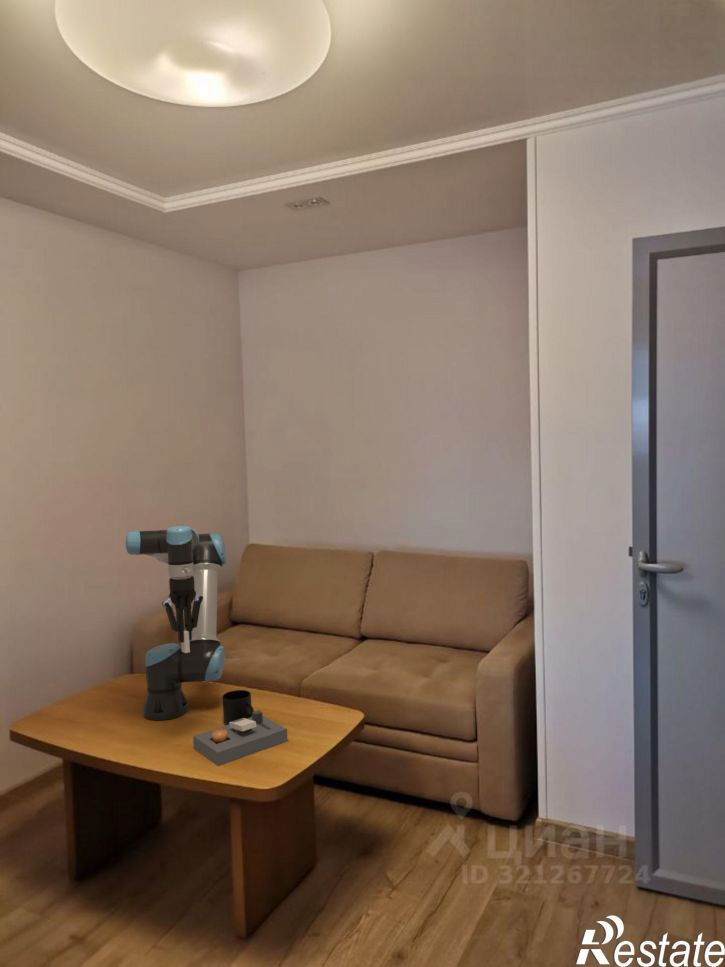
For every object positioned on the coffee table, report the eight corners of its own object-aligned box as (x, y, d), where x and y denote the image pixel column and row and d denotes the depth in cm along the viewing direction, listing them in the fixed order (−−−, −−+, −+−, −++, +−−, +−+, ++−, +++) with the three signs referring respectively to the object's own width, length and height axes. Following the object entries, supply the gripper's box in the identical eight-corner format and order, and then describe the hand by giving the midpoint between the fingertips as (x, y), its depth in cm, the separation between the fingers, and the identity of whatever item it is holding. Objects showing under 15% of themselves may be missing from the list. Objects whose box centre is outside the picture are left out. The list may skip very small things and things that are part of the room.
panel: (193, 748, 226) (192, 732, 225) (260, 726, 241) (260, 711, 240) (218, 765, 213) (217, 748, 213) (287, 741, 228) (286, 725, 228)
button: (210, 750, 223) (209, 731, 223) (223, 746, 226) (222, 727, 225) (217, 755, 220) (216, 736, 219) (230, 750, 222) (229, 732, 222)
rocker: (229, 727, 229) (229, 722, 229) (243, 723, 232) (243, 717, 232) (242, 731, 223) (241, 725, 223) (256, 726, 226) (255, 721, 226)
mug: (244, 730, 238) (242, 703, 237) (217, 723, 245) (216, 696, 244) (263, 720, 246) (262, 694, 245) (237, 713, 252) (236, 688, 252)
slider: (252, 721, 234) (252, 712, 234) (258, 719, 236) (258, 710, 236) (256, 723, 232) (255, 714, 232) (262, 721, 234) (262, 712, 234)
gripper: (166, 581, 218) (171, 659, 220) (206, 575, 227) (210, 649, 228) (156, 578, 224) (160, 653, 226) (195, 571, 232) (199, 644, 234)
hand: (185, 651), depth 227 cm, fingers closed
